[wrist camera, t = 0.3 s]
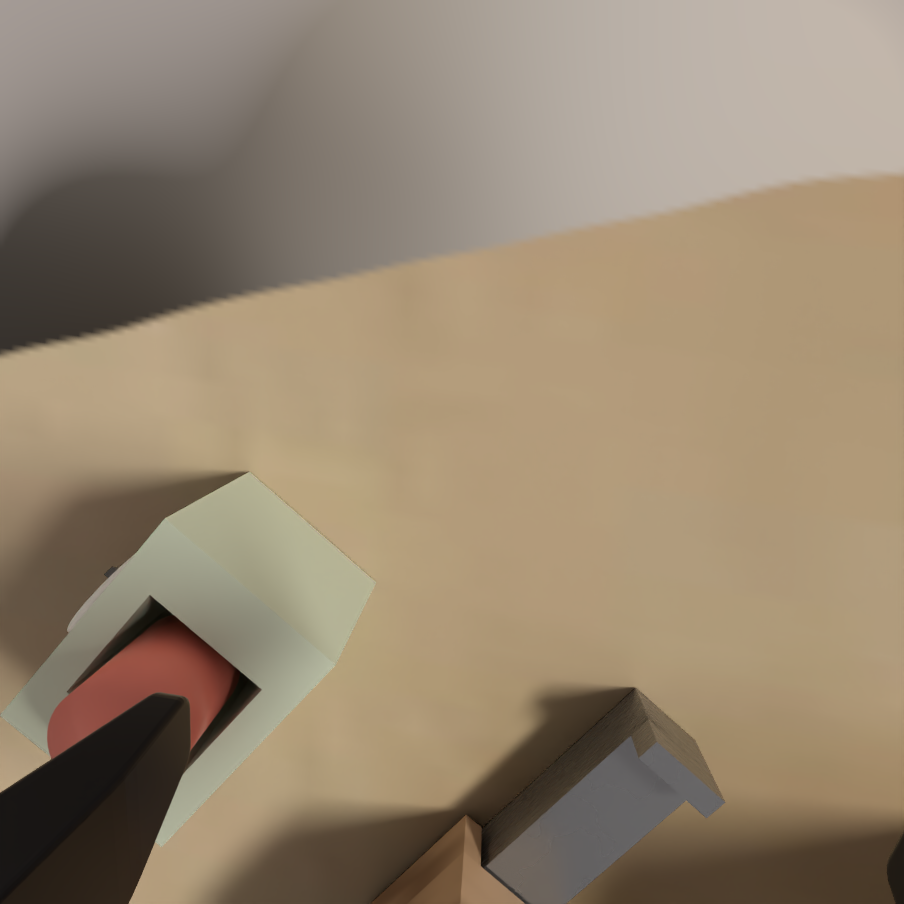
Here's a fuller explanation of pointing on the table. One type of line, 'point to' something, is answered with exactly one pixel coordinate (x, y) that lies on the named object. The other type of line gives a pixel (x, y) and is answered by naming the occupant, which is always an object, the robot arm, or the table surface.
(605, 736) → the rail
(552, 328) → the table surface
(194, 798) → the cabinet
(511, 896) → the block
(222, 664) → the gauge button
